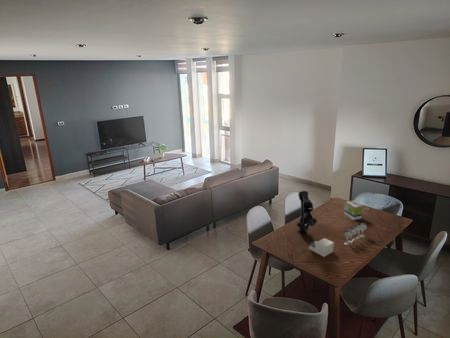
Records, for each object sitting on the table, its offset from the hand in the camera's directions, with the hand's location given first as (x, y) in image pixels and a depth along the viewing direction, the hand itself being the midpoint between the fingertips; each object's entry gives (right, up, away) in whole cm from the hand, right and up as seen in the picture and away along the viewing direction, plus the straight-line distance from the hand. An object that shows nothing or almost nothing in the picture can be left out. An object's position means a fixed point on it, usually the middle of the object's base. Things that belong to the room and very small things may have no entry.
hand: (305, 231), depth 271 cm
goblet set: (+45, -9, +5) cm, 46 cm away
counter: (+10, -15, -10) cm, 21 cm away
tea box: (+62, +5, +49) cm, 79 cm away
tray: (+9, -14, -9) cm, 19 cm away
